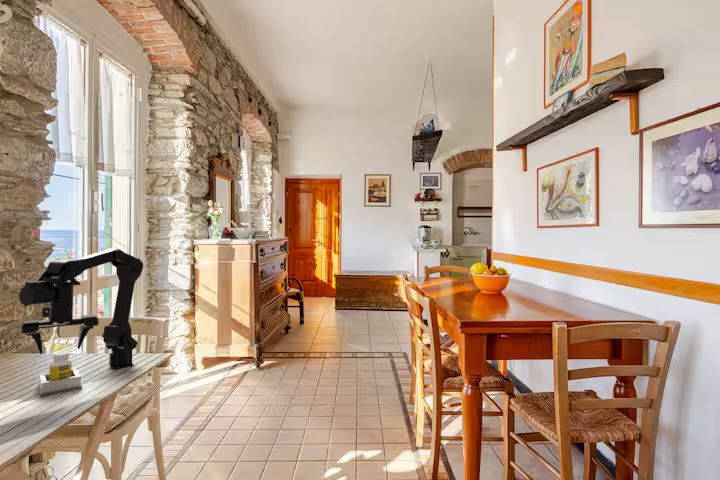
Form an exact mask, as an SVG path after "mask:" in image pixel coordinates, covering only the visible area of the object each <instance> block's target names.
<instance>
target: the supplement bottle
mask: <svg viewBox="0 0 720 480" xmlns="http://www.w3.org/2000/svg"><path fill="white" fill-rule="evenodd" d="M71 369H72V359H70V352H68V351H59V352H55V353H53V354H52V361H51V362H50V363H49V372H48V373H49V381H51V380H57V379H62V378H68V377H71Z"/></svg>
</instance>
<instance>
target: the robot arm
mask: <svg viewBox="0 0 720 480" xmlns="http://www.w3.org/2000/svg"><path fill="white" fill-rule="evenodd" d="M108 263H110V264H111V265H112V266H113V267H115V268H116V273H115V274H116V276H117V278H118V282H119V283H118V288H117V293H116V299H115V304H114V311H113V315H112V320H111V322H110V323H109V324H108V325H104V327H103V334H102V336H101V337H102V338H103V342H104V343H105V346H106V349H107V350H110V353H109V355H108V365H109V367H110V368H112V369H113V370H115V369H120V368H128V367H131V366H133V367H134V363H133V350H134V349H135V350H136V348H137V346H138V341H137V340H136V339H135V338H134V337H132V327H131V325H130V322H129V320H130V314H131V308H132V300H133V296H134V292H135V291H134V289H135V284H136V282H137V280H138V279H139V278H140V277H141V275H142V271H143V269H144V262H143V261H142V259H140V258H137V257H135V256H133V255H131V254H128V253H126V252H125V251H123V250H121V249H120V248H107V249H105V250H101V251H99V252H95V253H92V254H89V255H84V256H81V257H78V258H67V259H64V258H63V259H55V260H52V261H50V262H49V263H48V265H47V268H46V269H45V271H44V272H43V273H42V275H41V276H40V277H39V278H38V280H37V281H25V284H24V286H23V287H22V288H21V289H20V291H19V293H18V298H19V302H20V303H21V304H22V305H23V306H26V307H29V306H35V305H43V304H49V306H45V307H42V308H41V319H48V320H47V321H41V322H40V321H39V319H30V320H23V321H22V322H21V323H20V332H21V334H26V336H27V337H30V336H31V337H32V339H33V341H35V343H36V344H35V345H36V347H37V348H38V352H39V354H40V355H42V354H43V343H42V335H41V331H40V329H47V328H56V327H57V328H58V327H66V326H78V325H79V331H78V339H77V350H79V349H81V347H82V345H83V343H84V340H85V338H86V336H87V334H88V333H89V331H90V330H92V329H94V326H95V327H96V326H99V317H97V315H95V314H85V315H81V316H80V317H81V318H74V286H80V285H81V282H79V281H78V280H77V279H76V277H78V276H81V275H83V273H84V272H85V271H87V270H89V269H93V268H95V267H98V266H102V265H104V264H108Z"/></svg>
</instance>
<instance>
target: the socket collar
mask: <svg viewBox="0 0 720 480" xmlns="http://www.w3.org/2000/svg"><path fill="white" fill-rule="evenodd" d="M38 380H39V381H38V384H37V388H38V393H39V397H40V398H42V397H47V396H51V395H56V394H61V393H66V392H71V391H77V390H81V389H83V386H82V384H81V383H82V382H81V381H82V376H81V374H80V372H79V370H78V368H71V377H68V378H62V379H57V380H51V381H49V372H48V373H41V374H39V379H38Z"/></svg>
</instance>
